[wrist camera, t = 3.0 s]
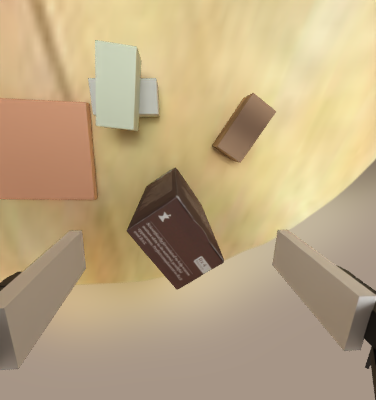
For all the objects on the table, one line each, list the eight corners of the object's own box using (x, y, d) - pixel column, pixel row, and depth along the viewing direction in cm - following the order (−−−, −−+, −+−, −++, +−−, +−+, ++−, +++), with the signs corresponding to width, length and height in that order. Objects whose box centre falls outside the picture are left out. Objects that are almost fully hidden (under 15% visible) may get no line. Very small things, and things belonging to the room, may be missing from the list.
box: (143, 187, 25) (122, 230, 13) (175, 166, 24) (182, 190, 13) (173, 226, 27) (176, 294, 15) (203, 207, 26) (230, 260, 15)
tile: (4, 196, 24) (-3, 199, 23) (-16, 99, 21) (-25, 96, 20) (97, 197, 25) (94, 199, 24) (89, 103, 22) (85, 102, 21)
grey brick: (102, 117, 23) (93, 114, 20) (98, 86, 22) (88, 78, 19) (159, 116, 23) (158, 113, 20) (157, 86, 22) (156, 78, 19)
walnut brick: (232, 159, 25) (240, 162, 22) (211, 145, 24) (217, 146, 22) (263, 114, 24) (276, 111, 21) (242, 98, 23) (253, 92, 20)
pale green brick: (138, 131, 20) (133, 129, 18) (106, 127, 20) (95, 125, 17) (141, 60, 19) (136, 46, 16) (106, 55, 19) (95, 40, 16)
